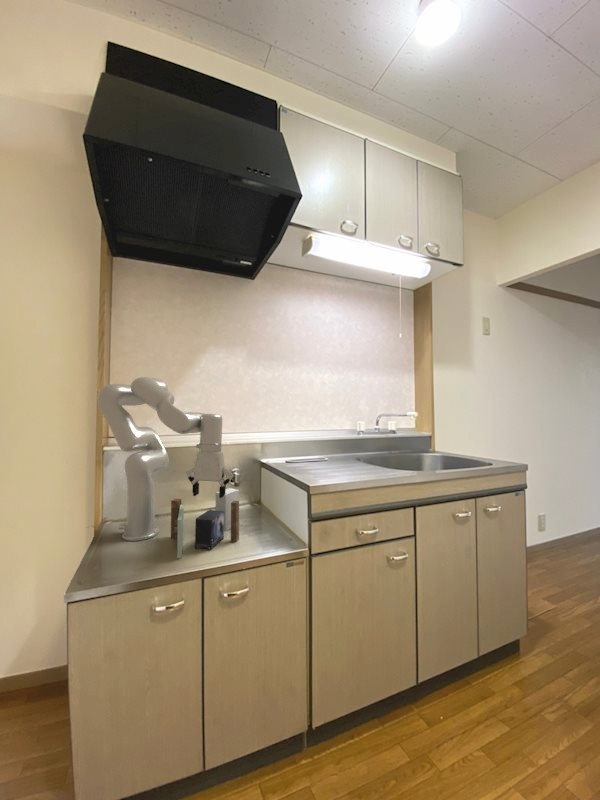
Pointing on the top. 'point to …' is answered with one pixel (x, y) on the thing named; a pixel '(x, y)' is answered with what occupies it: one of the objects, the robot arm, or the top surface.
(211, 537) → the small box
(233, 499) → the skincare box
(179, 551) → the door
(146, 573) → the top surface
